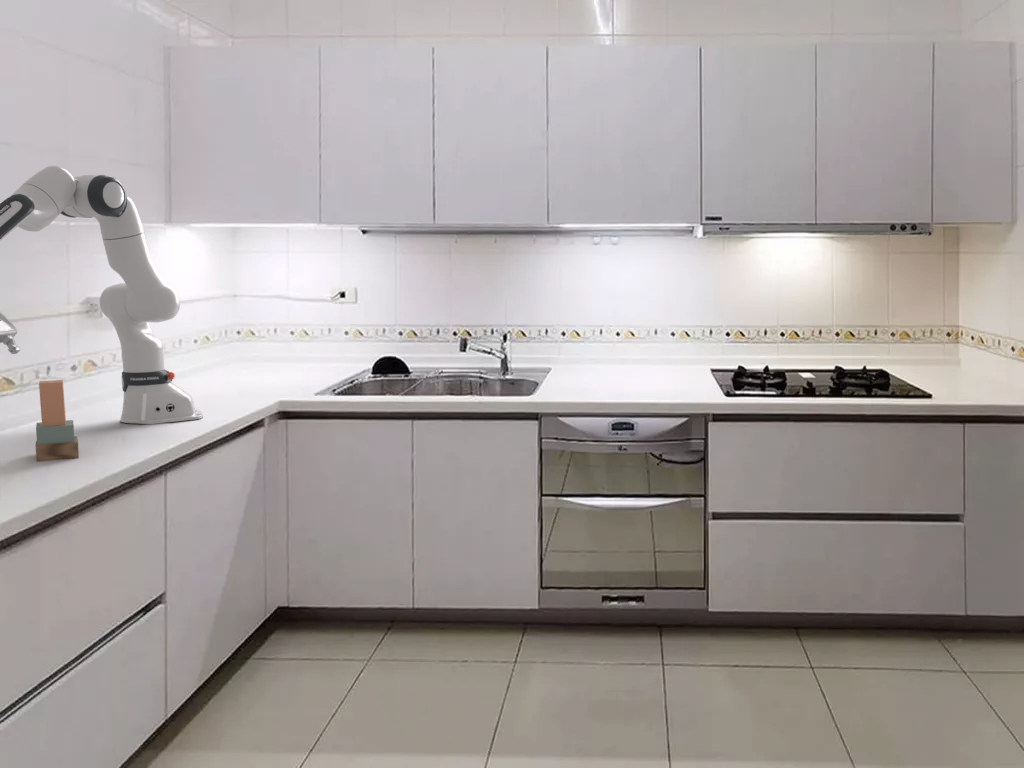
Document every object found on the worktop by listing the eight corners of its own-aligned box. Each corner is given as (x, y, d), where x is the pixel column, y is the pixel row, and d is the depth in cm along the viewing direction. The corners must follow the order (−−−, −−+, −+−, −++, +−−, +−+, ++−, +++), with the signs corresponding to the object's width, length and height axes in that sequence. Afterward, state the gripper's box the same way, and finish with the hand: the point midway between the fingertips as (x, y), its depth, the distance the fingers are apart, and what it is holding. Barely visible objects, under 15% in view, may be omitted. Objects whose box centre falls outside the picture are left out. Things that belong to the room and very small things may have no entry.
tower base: (78, 452, 254) (77, 435, 254) (78, 458, 246) (77, 442, 246) (38, 455, 251) (36, 438, 251) (36, 462, 243) (35, 445, 242)
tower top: (74, 436, 253) (72, 420, 253) (74, 441, 246) (73, 425, 246) (37, 439, 250) (36, 422, 250) (37, 444, 243) (36, 427, 242)
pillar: (65, 421, 251) (62, 379, 249) (65, 424, 246) (62, 382, 245) (43, 423, 249) (39, 381, 248) (42, 426, 244) (38, 383, 243)
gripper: (-57, 305, 236) (-13, 348, 237) (-4, 301, 257) (37, 340, 257) (-74, 325, 237) (-30, 368, 238) (-20, 319, 258) (21, 359, 258)
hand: (5, 354), depth 247 cm, fingers open, 8 cm apart
